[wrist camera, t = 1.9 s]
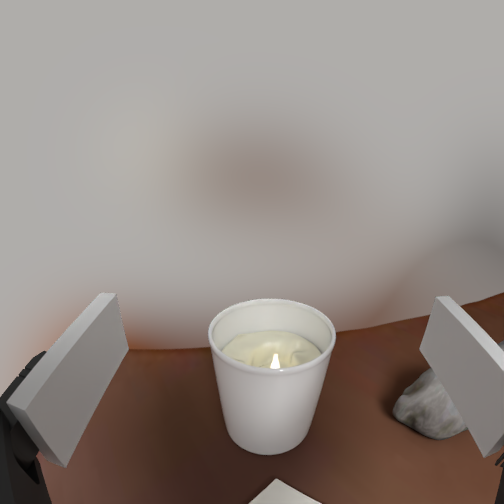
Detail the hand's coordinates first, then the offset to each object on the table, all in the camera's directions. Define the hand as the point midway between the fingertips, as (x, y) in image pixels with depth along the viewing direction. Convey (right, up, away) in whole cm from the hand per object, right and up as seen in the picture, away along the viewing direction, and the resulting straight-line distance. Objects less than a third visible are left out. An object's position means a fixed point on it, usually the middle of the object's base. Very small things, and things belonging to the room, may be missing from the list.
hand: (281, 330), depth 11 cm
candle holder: (0, -14, +15) cm, 21 cm away
